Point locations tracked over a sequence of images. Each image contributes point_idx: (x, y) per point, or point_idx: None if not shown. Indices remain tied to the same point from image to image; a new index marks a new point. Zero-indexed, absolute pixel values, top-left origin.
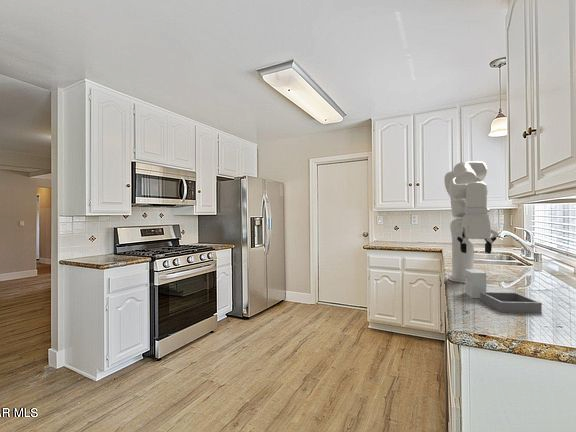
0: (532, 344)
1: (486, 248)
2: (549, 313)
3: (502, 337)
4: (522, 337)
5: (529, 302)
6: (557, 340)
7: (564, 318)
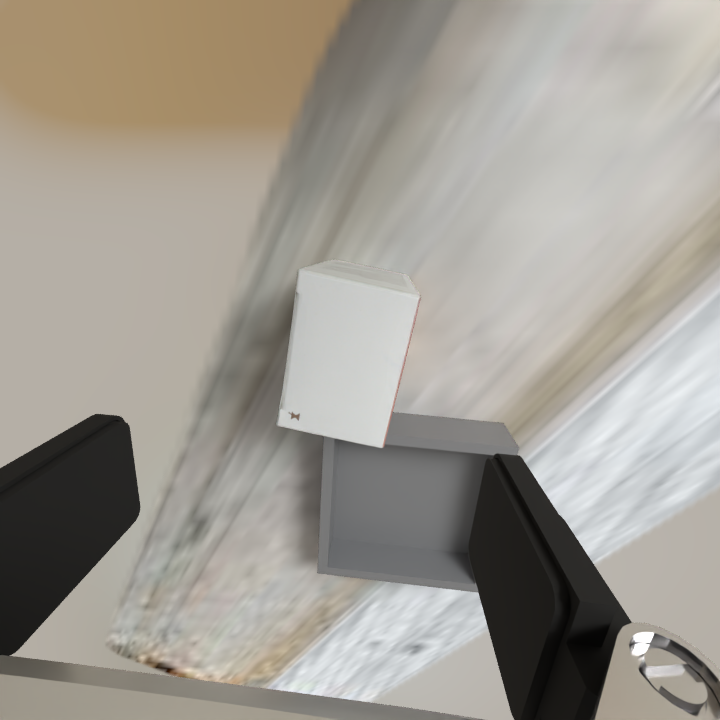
0: None
1: (499, 547)
2: None
3: None
4: (255, 685)
5: (436, 584)
6: None
7: None
